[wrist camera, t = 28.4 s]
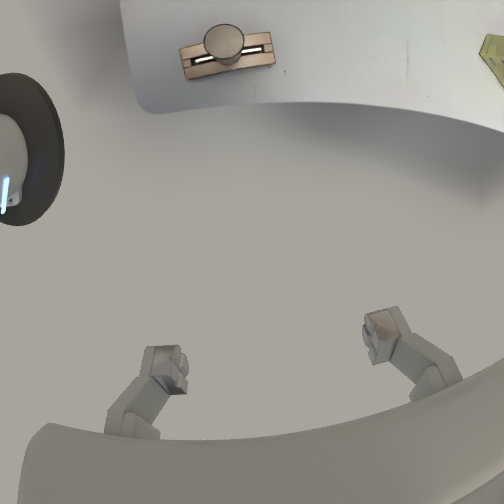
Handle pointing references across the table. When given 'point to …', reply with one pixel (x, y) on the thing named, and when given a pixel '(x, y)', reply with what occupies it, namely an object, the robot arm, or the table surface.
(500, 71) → the box
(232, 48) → the knife
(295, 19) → the table surface
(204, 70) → the knife holder
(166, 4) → the table surface
